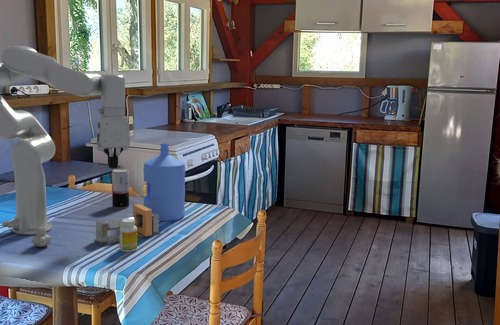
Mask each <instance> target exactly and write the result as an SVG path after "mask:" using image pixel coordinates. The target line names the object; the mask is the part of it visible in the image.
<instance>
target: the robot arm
mask: <svg viewBox="0 0 500 325" xmlns="http://www.w3.org/2000/svg"><path fill="white" fill-rule="evenodd" d="M57 61H58V60H57V59H56V58H54V57H53V56H50V55H46V54H43V53H40V52H38V51H37V50H36V49H35V48H33V47H31V46H28V45H27V46H26V45H8V46H7V47H5V48H4V49H2V51H1V54H0V87H1V86H6V85H8V84H11V83H13V82H14V81H17V80H19V79H21V78H23V77H29V78H31V79H32V80H33V79H34V80H38V81H39V82H42V83H44V84H47V85H48V86H50V87H52V88H54V89H57V90H59V91H61V92H65V93H68V94H70V95H74V96H77V97H81V98H84V97H91V96H100V104H101V105H100V108H98V109H96V113H97V114H100V116H98V120H97V127H96V145H97V146H96V151H98V152H101V153H104V154H105V155H106V156H107V166H108V168H109V169H112V170H115V169H118V165H119V157H120V155H121V154H122V152H124V151H127V150H129V148H130V147H129V146H130V145H131V133H130V123H129V118H128V117H127V116H126V79H125V78H126V77H125V76H124V75H122V74H116V73H105V74H104V73H98V72H94V71H93V72H91V71H90V72H89V71H87V72H85V71H83V72H82V71H78V70H75V69H73V68H69V67H67V66H64V65H62V64H60V63H58V62H57ZM0 138H1V139H2V140H4V141H14V140H19V141H17V142H16V143H15V144H14V145H13V146H12V148H11V151H10V158H11V159H10V160H11V163H12V167H13V173H14V186H15V188H14V189H15V205H16V208H15V209H16V216H13V218H14V219H11V220H9V221H8V220H7V221H1V227H2V228H7V229H12V233H15V234H17V235H25V236H26V235H27V236H28V235H30V236H31V235H37V234H36V228H37V226H38V225H39V226H40V222H41V225H44V226H45V228H46V233H47V232H49V231H50V230H51V229H52V228H53V225H52V224H53V223H51V222H49V221H48V213H47V212H48V209H47V191H46V190H47V189H46V187H47V184H46V175H45V171H44V167H43V163H45V162H48V161H50V160H51V159H52V158H54V156H55V154H56V150H57V149H56V145H55V141H54V140H53V138H52V137H51V136H50V134H49V133H48V132H47V131H46V129H45V128H44V127H43V126H42V124H41V123H40V121H38V119H37V118H36V117H35V115H33V114H32V113H31V112H29V111H26V110H24V109H23V110H22V109H19V110H17V109H16V110H14V109H13V108H12V107H11V106H10V104H9V103H8V102H7V101H6V100H5V98H4V97H3V95H1V94H0Z"/></svg>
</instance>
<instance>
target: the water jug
mask: <svg viewBox="0 0 500 325" xmlns="http://www.w3.org/2000/svg"><path fill="white" fill-rule="evenodd" d="M159 145H160V149H159V150H160V154H159V155H157V156H155V157H153V158H150V159H148V160H146V161H145V162H143V181H144V182H145V183H146V195H145V196H144V198H143V206H145V207H147V208H149V209H151V210H152V212H154V213H156V214H159V222H173V221H178V220H180V219H182V218H184V216H185V214H186V209H185V199H186V198H185V196H186V188H185V187H186V186H185V184H186V183H185V180H186V179H185V178H186V163H185V162H184V161H182V160H181V159H178V158H176V157H174V156H172V155H170V152H169V151H170V148H169V146H170V143H160V144H159Z"/></svg>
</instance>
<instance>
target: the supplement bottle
mask: <svg viewBox="0 0 500 325" xmlns="http://www.w3.org/2000/svg"><path fill="white" fill-rule="evenodd" d="M126 218H127V217H126ZM122 225H123V226H121V227H120V229H119V234H120V242H119V250H120V252H123V253H131V252H135V251H137V249H138V239H137V227H136V226H135V219H131V218H127V219H123V220H122Z"/></svg>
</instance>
